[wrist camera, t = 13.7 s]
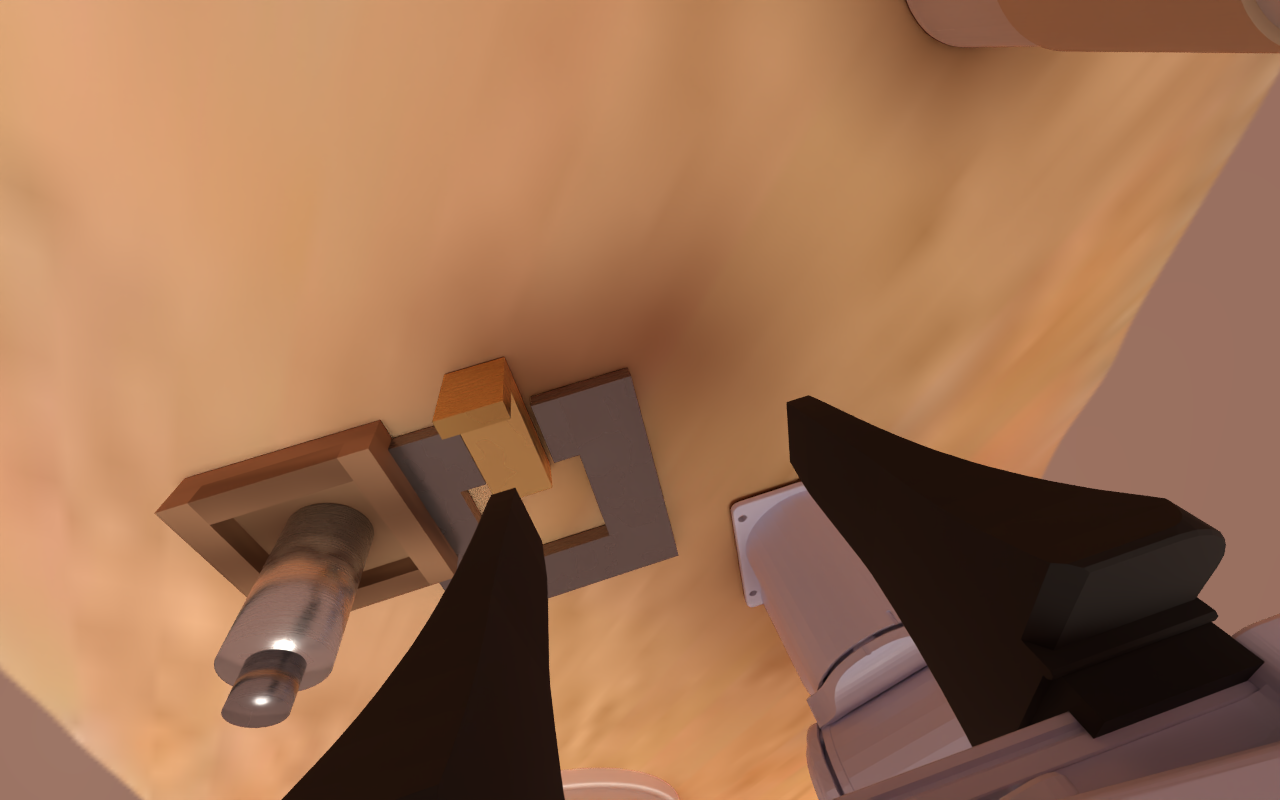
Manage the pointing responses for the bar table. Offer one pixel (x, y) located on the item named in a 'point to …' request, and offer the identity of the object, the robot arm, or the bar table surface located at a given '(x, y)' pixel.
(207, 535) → the square wooden tray
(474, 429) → the golden l-shaped block
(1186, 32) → the coffee cup
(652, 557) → the socket collar
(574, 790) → the plate stack
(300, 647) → the peg
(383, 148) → the bar table surface
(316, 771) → the robot arm
